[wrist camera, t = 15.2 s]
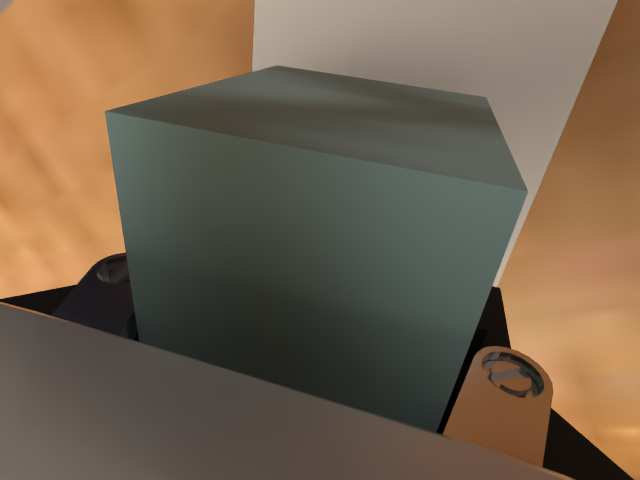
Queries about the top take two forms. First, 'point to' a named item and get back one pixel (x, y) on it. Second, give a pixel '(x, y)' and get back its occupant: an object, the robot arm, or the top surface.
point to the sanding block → (317, 231)
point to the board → (452, 58)
